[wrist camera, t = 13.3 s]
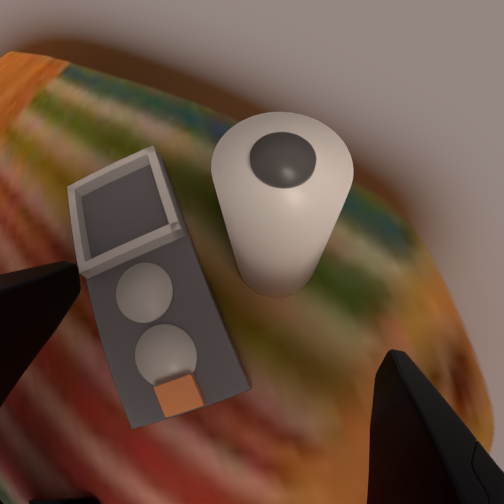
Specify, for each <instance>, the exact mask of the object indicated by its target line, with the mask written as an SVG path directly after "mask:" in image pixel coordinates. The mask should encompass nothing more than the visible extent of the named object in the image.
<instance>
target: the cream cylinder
mask: <svg viewBox="0 0 504 504" xmlns="http://www.w3.org/2000/svg"><path fill="white" fill-rule="evenodd" d="M211 173H212V178H213V182H214V186H215V189H216V193H217V197H218V200H219V204H220V207H221V211H222V214H223V218H224V221H225V225H226V228H227V232H228V235H229V239H230V242H231V246H232V249H233V253H234V256H235V260H236V263H237V267H238V270H239V273H240V275H241V277H242V279H243V281H244V282H245V283H246V284H247V285H248V286H249V287H250V288H251V289H252V290H253V291H255V292H257V293H259V294H261V295H264V296H267V297H274V298H279V297H286V296H290V295H292V294H294V293H296V292H298V291H300V290H301V289H302V288H303V287H304V286H306V284H307V283H308V282H309V281H310V279H311V277H312V275H313V273H314V271H315V269H316V266H317V264H318V262H319V260H320V258H321V255H322V253H323V251H324V249H325V246H326V244H327V242H328V240H329V237H330V235H331V233H332V230H333V228H334V226H335V223H336V221H337V219H338V216H339V214H340V212H341V209H342V207H343V205H344V202H345V200H346V197H347V195H348V193H349V190H350V187H351V185H352V180H353V163H352V159H351V155H350V153H349V151H348V149H347V147H346V145H345V144H344V142H343V141H342V140H341V138H340V137H339V136H338V135H337V134H336V133H335V132H334V131H333V130H332V129H330V128H329V127H327V126H326V125H325V124H323V123H321V122H319V121H318V120H315V119H313V118H311V117H308V116H305V115H301V114H297V113H290V112H270V113H263V114H259V115H255V116H252V117H249V118H247V119H245V120H243V121H241V122H239V123H237V124H236V125H234V126H233V127H232V128H231V129H229V130H228V131H227V132H226V133H225V134H224V135H223V136H222V138H221V139H220V141H219V142H218V144H217V146H216V148H215V150H214V153H213V156H212V162H211Z"/></svg>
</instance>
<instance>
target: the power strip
mask: <svg viewBox="0 0 504 504" xmlns="http://www.w3.org/2000/svg"><path fill="white" fill-rule="evenodd" d="M67 189H68V199H69V209H70V217H71V225H72V232H73V239H74V246H75V252H76V258H77V263H78V269H79V273H80V274H81V275H83V276H85V277H86V282H87V286H88V291H89V295H90V300H91V304H92V308H93V312H94V316H95V320H96V324H97V327H98V331H99V335H100V338H101V342H102V345H103V349H104V352H105V355H106V358H107V362H108V365H109V368H110V371H111V374H112V377H113V380H114V383H115V386H116V389H117V391H118V394H119V397H120V400H121V402H122V405H123V408H124V410H125V413H126V415H127V418H128V420H129V423H130V425H131V428H132V429H134V428H138V427H141V426H145V425H148V424H152V423H155V422H159V421H162V420H165V419H169V418H172V417H175V416H178V415H181V414H184V413H187V412H190V411H193V410H196V409H199V408H202V407H205V406H208V405H211V404H214V403H216V402H219V401H222V400H224V399H227V398H230V397H232V396H235V395H238V394H240V393H243V392H245V391H248V390H250V389H251V388H252V387H251V384H250V382H249V380H248V377H247V375H246V373H245V371H244V368H243V366H242V364H241V361H240V359H239V357H238V354H237V352H236V350H235V347H234V345H233V343H232V340H231V338H230V335H229V333H228V331H227V328H226V326H225V323H224V321H223V318H222V316H221V314H220V311H219V309H218V306H217V304H216V301H215V299H214V296H213V294H212V291H211V289H210V286H209V284H208V281H207V278H206V276H205V273H204V271H203V268H202V266H201V263H200V260H199V258H198V255H197V252H196V250H195V247H194V245H193V242H192V239H191V236H190V234H189V231H188V228H187V226H186V223H185V220H184V217H183V215H182V212H181V209H180V206H179V203H178V201H177V198H176V195H175V192H174V189H173V186H172V184H171V181H170V178H169V175H168V172H167V169H166V166H165V164H164V161H163V159H162V157H161V155H160V153H159V152H158V153H157V152H156V150H155V148H154V146H150V147H148V148H146V149H144V150H141V151H139V152H137V153H134V154H132V155H130V156H128V157H126V158H123V159H121V160H119V161H117V162H115V163H113V164H111V165H109V166H107V167H104V168H102V169H100V170H98V171H96V172H94V173H92V174H90V175H88V176H87V177H85V178H83V179H81V180H79V181H77V182H75V183H73V184H71V185H69V186H68V187H67Z"/></svg>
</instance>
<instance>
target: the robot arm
mask: <svg viewBox="0 0 504 504" xmlns="http://www.w3.org/2000/svg"><path fill="white" fill-rule="evenodd" d="M80 290H81V285H80V278H79V270H78V266H77V265H76V264H75V263H72V262H70V261H60V262H56V263H51V264H46V265H42V266H37V267H33V268H28V269H24V270H19V271H15V272H10V273H6V274H1V275H0V407H1V405H2V404H3V402H4V401H5V399H6V398H7V396H8V395H9V393H10V392H11V390H12V389H13V387H14V386H15V385H16V383H17V382H18V380H19V379H20V377H21V376H22V375H23V373H24V372H25V370H26V369H27V368H28V366H29V365H30V364H31V362H32V361H33V359H34V358H35V357H36V355H37V354H38V353H39V351H40V350H41V349H42V347H43V346H44V345H45V344H46V342H47V341H48V340H49V338H50V337H51V336H52V334H53V333H54V332H55V330H56V329H57V327H58V326H59V324H60V323H61V321H62V320H63V318H64V317H65V315H66V314H67V312H68V311H69V309H70V308H71V306H72V305H73V303H74V302H75V300H76V299H77V297H78V296H79V294H80ZM476 440H477V439H476V438H475V436H474V435H473V434H472V433H471V431H470V430H469V429H468V427H467V426H466V425H465V424H464V422H463V421H462V420H461V419H460V417H459V416H458V415H457V414H456V412H455V411H454V410H453V409H452V408H451V406H450V405H449V404H448V403H447V401H446V400H445V399H444V398H443V397H442V395H441V394H440V393H439V392H438V391H437V389H436V388H435V387H434V386H433V385H432V383H431V382H430V381H429V380H428V379H427V377H426V376H425V375H424V374H423V373H422V371H421V370H420V369H419V368H418V367H417V366H416V364H415V363H414V362H413V361H412V360H411V359H410V357H409V356H408V355H407V354H406V353H405V352H403V351H399V350H393V349H391V350H389V351H388V352H387V354H386V356H385V358H384V360H383V362H382V363H381V365H380V367H379V369H378V371H377V373H376V376H375V384H374V395H373V405H372V414H371V423H370V452H369V479H368V496H367V504H504V472H503V471H502V470H501V469H500V468H499V467H498V465H497V464H496V463H495V462H494V460H493V459H492V458H491V457H490V455H489V454H488V453H487V452H486V450H485V449H484V448H483V447H482V445H481V444H480V443H479V441H476ZM90 502H91V503H92V504H100V503H99V502H98V500H96V499H95V498H94V497H77V498H59V499H32V500H30V501H29V504H90ZM0 504H3V503H2V502H1V501H0Z"/></svg>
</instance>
